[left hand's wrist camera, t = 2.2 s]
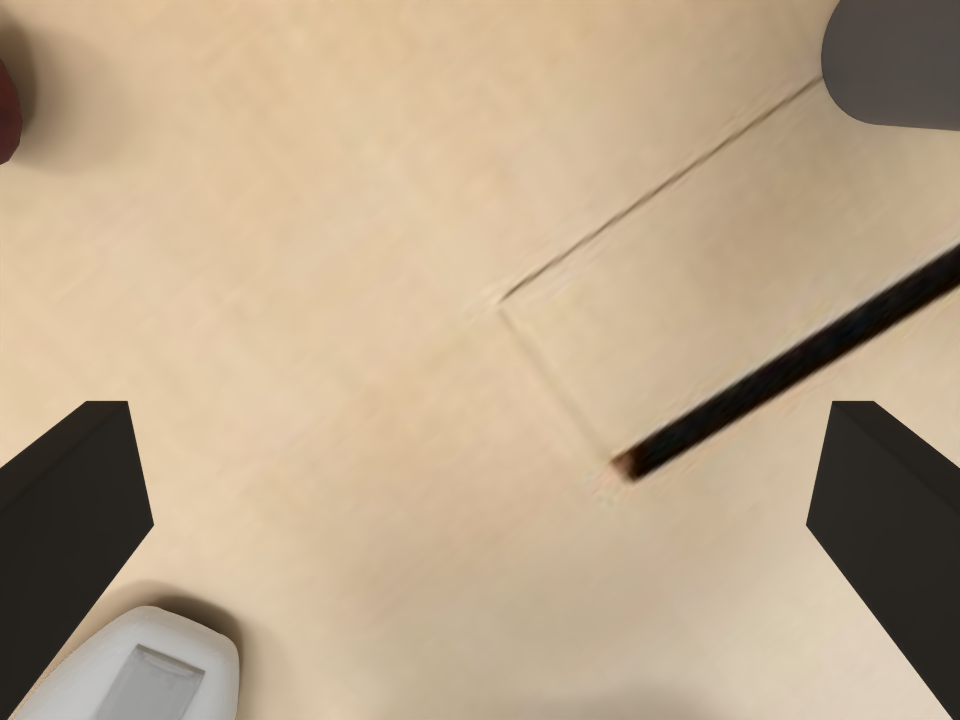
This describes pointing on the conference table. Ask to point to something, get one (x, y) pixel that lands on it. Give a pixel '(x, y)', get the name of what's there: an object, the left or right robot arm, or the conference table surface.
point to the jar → (895, 62)
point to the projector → (143, 673)
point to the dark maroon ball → (8, 116)
